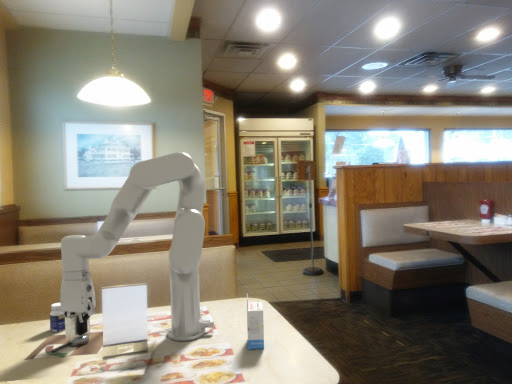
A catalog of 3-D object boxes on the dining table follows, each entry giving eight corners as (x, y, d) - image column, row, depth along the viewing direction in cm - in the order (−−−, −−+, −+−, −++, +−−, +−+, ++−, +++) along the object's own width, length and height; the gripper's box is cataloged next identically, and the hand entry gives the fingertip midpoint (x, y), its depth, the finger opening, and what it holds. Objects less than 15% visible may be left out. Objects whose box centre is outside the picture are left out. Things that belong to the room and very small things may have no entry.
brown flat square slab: (112, 334, 125) (112, 330, 125) (96, 358, 107) (96, 353, 107) (50, 339, 122) (49, 334, 122) (23, 364, 105) (23, 359, 105)
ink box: (264, 349, 110) (263, 300, 109) (248, 350, 110) (246, 300, 109) (263, 337, 118) (261, 291, 118) (247, 338, 118) (246, 292, 118)
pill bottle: (61, 336, 124) (59, 307, 124) (46, 335, 125) (45, 306, 125) (72, 329, 130) (71, 301, 130) (58, 328, 131) (57, 301, 131)
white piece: (81, 336, 120) (79, 309, 119) (94, 339, 117) (93, 311, 117) (45, 353, 108) (44, 323, 108) (59, 356, 106) (58, 325, 105)
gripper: (105, 273, 116) (108, 331, 116) (65, 271, 121) (67, 326, 121) (88, 279, 109) (90, 340, 109) (45, 276, 114) (48, 335, 114)
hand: (78, 332), depth 115 cm, fingers closed on white piece, 2 cm apart
